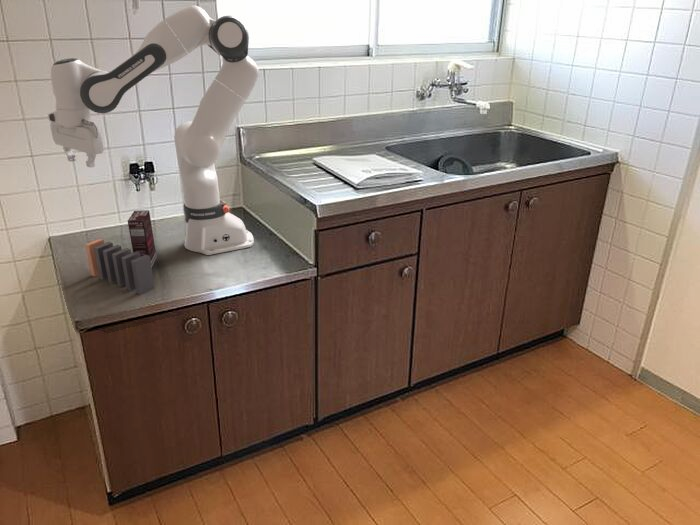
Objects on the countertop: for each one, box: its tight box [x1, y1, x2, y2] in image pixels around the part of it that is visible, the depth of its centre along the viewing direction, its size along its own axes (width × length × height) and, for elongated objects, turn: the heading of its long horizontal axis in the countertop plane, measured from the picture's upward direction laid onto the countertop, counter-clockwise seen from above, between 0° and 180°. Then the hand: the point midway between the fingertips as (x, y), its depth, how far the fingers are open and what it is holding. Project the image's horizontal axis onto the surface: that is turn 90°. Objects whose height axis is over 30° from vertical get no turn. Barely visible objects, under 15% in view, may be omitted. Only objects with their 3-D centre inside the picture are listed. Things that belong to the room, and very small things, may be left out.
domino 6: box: [131, 255, 156, 296], centre depth 165 cm, size 2×5×10 cm, turn 147°
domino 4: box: [112, 247, 132, 288], centre depth 169 cm, size 2×5×10 cm, turn 147°
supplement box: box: [127, 209, 158, 268], centre depth 179 cm, size 9×5×16 cm, turn 5°
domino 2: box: [94, 241, 114, 281], centre depth 173 cm, size 2×5×10 cm, turn 147°
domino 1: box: [84, 238, 105, 278], centre depth 175 cm, size 2×5×10 cm, turn 147°
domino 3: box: [103, 244, 123, 285], centre depth 171 cm, size 2×5×10 cm, turn 147°
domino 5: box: [121, 251, 141, 292], centre depth 167 cm, size 2×5×10 cm, turn 147°
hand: (81, 163), depth 178 cm, fingers open, 8 cm apart
